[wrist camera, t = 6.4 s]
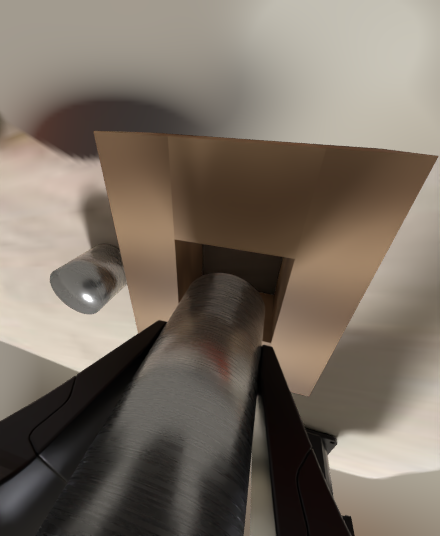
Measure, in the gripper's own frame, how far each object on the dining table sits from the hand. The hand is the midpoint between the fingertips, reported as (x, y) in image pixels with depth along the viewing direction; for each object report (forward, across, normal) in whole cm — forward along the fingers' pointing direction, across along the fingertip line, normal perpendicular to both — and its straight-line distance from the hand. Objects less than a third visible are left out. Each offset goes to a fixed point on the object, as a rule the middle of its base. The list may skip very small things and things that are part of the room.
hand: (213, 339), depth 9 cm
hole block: (+7, 0, 0) cm, 7 cm away
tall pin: (+2, 0, 0) cm, 2 cm away
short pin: (+7, +11, +3) cm, 14 cm away
